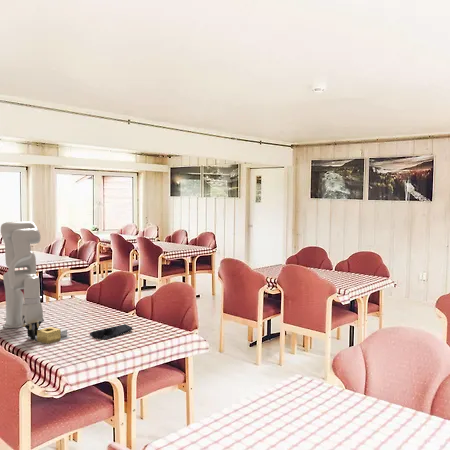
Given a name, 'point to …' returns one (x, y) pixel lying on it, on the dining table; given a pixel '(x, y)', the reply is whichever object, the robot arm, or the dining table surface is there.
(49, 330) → the square hole fixture
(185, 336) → the dining table surface
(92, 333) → the dark slate chunk
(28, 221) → the robot arm
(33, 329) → the grey metal peg
